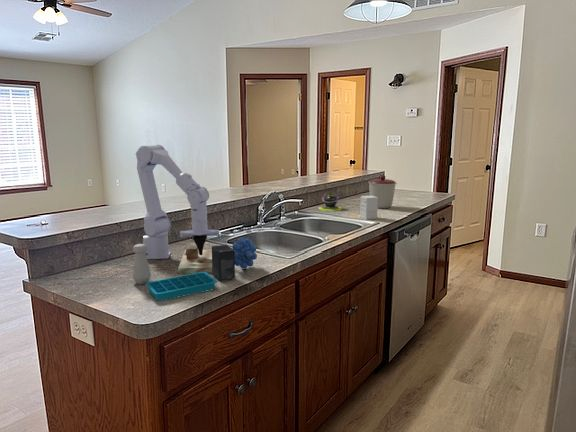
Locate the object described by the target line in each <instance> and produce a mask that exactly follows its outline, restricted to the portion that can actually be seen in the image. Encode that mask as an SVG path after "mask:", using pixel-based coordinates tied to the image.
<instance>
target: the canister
mask: <svg viewBox="0 0 576 432" xmlns="http://www.w3.org/2000/svg"><path fill="white" fill-rule="evenodd" d="M367 183H368V184H369V186H368V187H369V188H368V189H369V196H371V195H372V196H375V197H378V207H377V209H390V208H391V207H392V205H393V200H394V196H395V191H396V185H397V184H398V183H397V181H395V180H393V179H388V178H386V175H383V174H381V175H380V176H379V178H375V179H371V180H368V182H367Z"/></svg>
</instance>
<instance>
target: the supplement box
mask: <svg viewBox="0 0 576 432" xmlns="http://www.w3.org/2000/svg"><path fill="white" fill-rule="evenodd" d="M377 207H378V197H375V196H372V195H371V196H370V195H360V211H359V215H360V216H359V217H360V218H361V219H364V220H366V221H367V220H377V219H378V208H377Z"/></svg>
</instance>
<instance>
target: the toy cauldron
mask: <svg viewBox="0 0 576 432" xmlns="http://www.w3.org/2000/svg"><path fill="white" fill-rule="evenodd" d="M332 194H333V195H328V193H325V196H324V197H323V196H322V197H321V201H323V204H324V205H322V206H319V207H318V209H319V210H321V211H329V212H331V211H333V212H335V211H342V209H343V208H342V207H340V206H337V204H338V200H339V199H340V197H339V196H337V195H338V194H336V193H334V192H333V193H332ZM334 194H335V195H336V196H335V195H334Z"/></svg>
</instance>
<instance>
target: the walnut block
mask: <svg viewBox="0 0 576 432" xmlns="http://www.w3.org/2000/svg"><path fill="white" fill-rule="evenodd" d="M185 250H186V257H187V259H198V248H197V245H187V246H186V248H185Z"/></svg>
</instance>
